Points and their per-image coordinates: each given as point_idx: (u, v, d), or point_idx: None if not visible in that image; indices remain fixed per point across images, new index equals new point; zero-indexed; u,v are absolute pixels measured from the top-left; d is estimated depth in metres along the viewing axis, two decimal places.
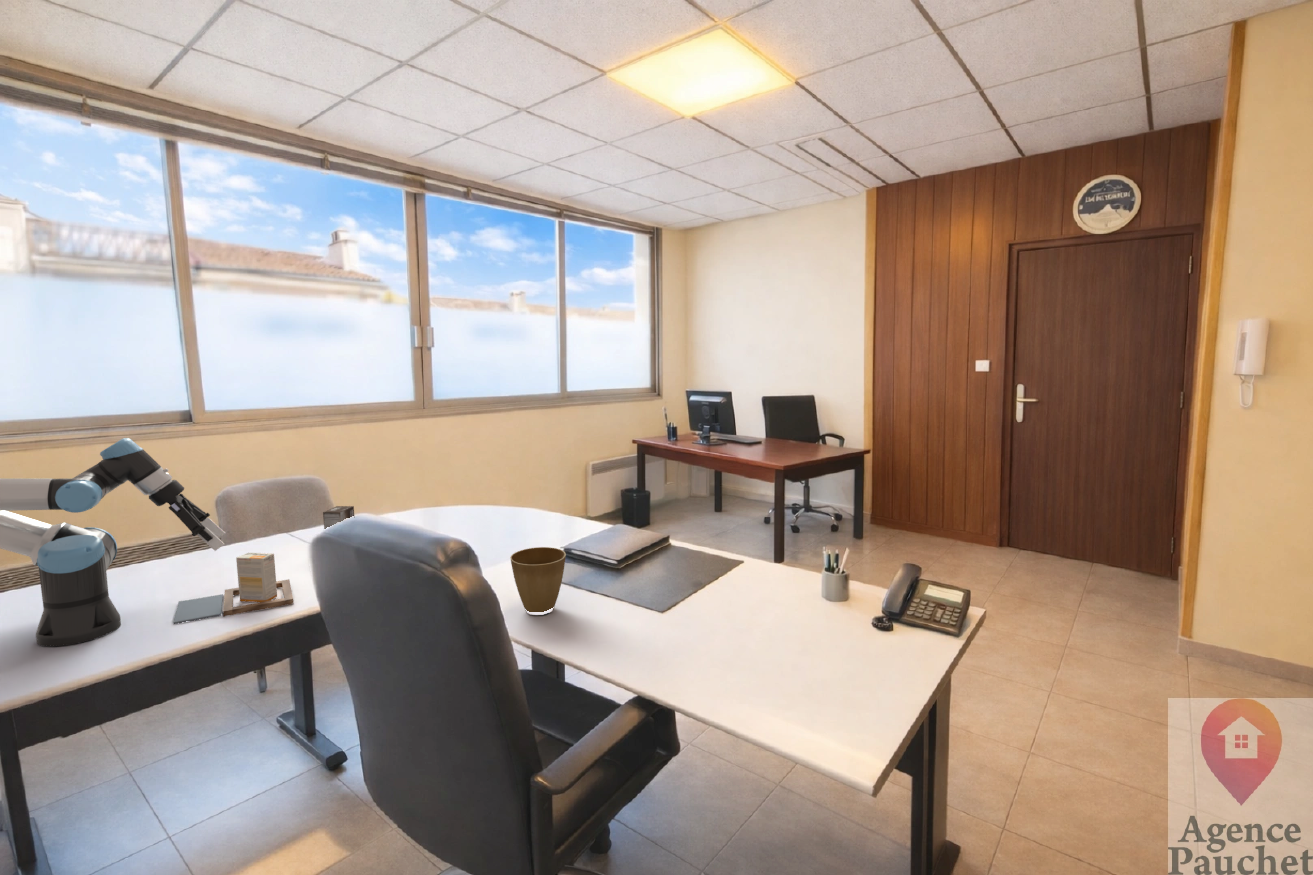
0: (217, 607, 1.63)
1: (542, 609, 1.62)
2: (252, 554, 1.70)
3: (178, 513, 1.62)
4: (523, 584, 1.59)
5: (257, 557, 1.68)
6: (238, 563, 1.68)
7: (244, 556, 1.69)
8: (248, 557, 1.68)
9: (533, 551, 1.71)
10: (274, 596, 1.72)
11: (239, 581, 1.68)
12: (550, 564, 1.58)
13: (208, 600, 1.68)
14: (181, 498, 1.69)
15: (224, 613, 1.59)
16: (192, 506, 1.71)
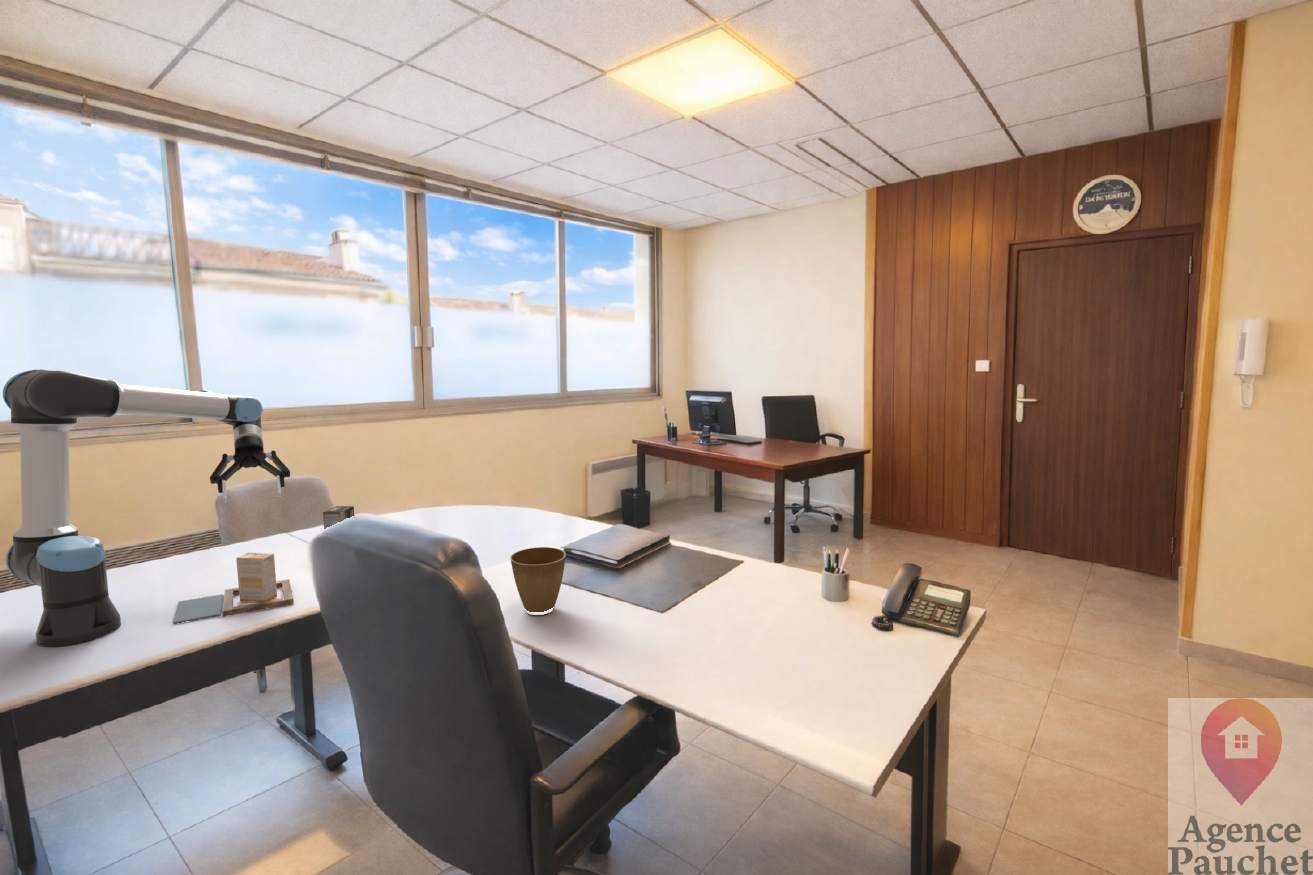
0: (217, 607, 1.63)
1: (542, 609, 1.62)
2: (252, 554, 1.70)
3: None
4: (523, 584, 1.59)
5: (257, 557, 1.68)
6: (238, 563, 1.68)
7: (244, 556, 1.69)
8: (248, 557, 1.68)
9: (533, 551, 1.71)
10: (274, 596, 1.72)
11: (239, 581, 1.68)
12: (550, 564, 1.58)
13: (208, 600, 1.68)
14: None
15: (224, 613, 1.59)
16: (239, 468, 1.84)
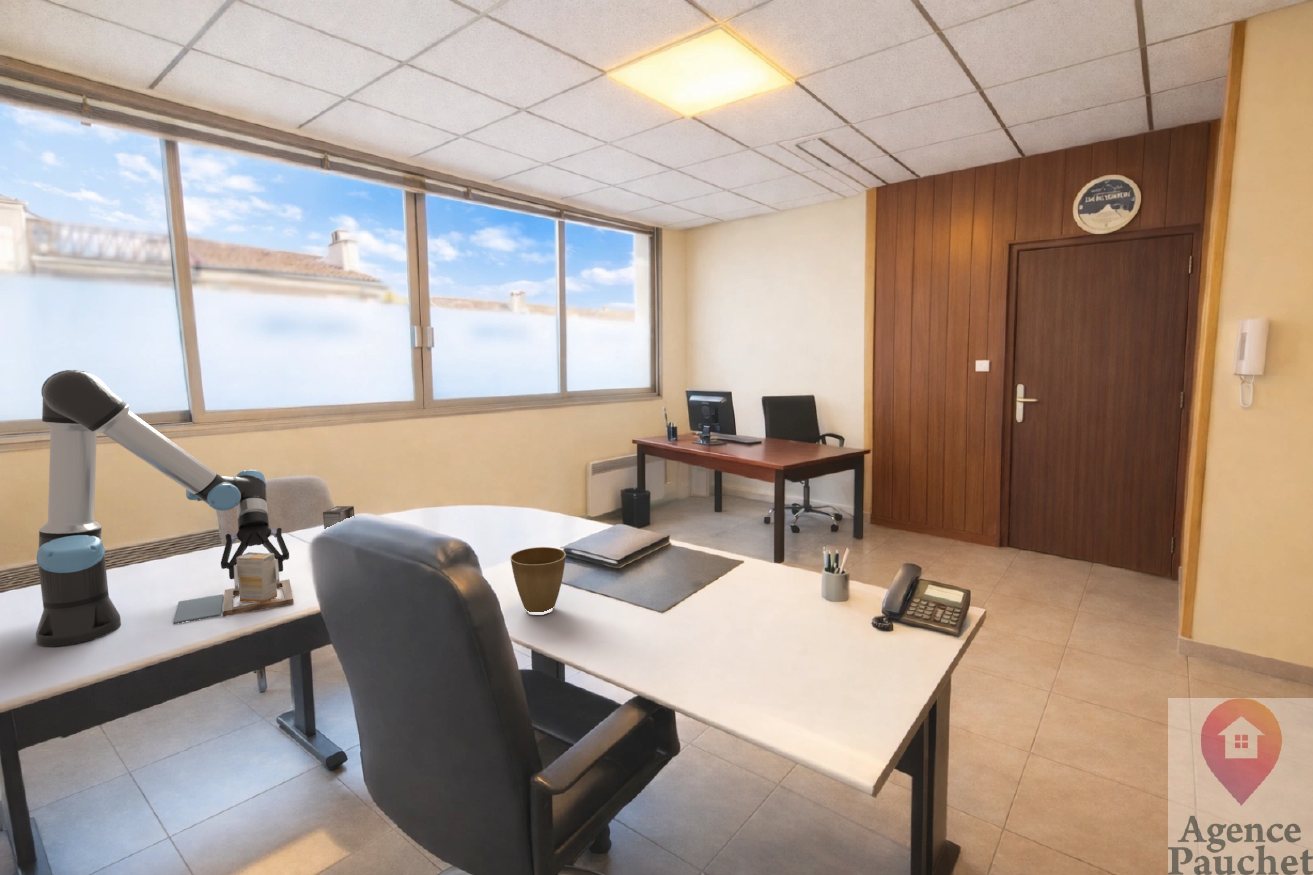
0: (217, 607, 1.63)
1: (542, 609, 1.62)
2: (252, 554, 1.70)
3: (281, 536, 1.78)
4: (523, 584, 1.59)
5: (257, 557, 1.68)
6: (238, 563, 1.68)
7: (244, 556, 1.69)
8: (248, 557, 1.68)
9: (533, 551, 1.71)
10: (274, 596, 1.72)
11: (239, 581, 1.68)
12: (550, 564, 1.58)
13: (208, 600, 1.68)
14: None
15: (224, 613, 1.59)
16: (246, 547, 1.74)
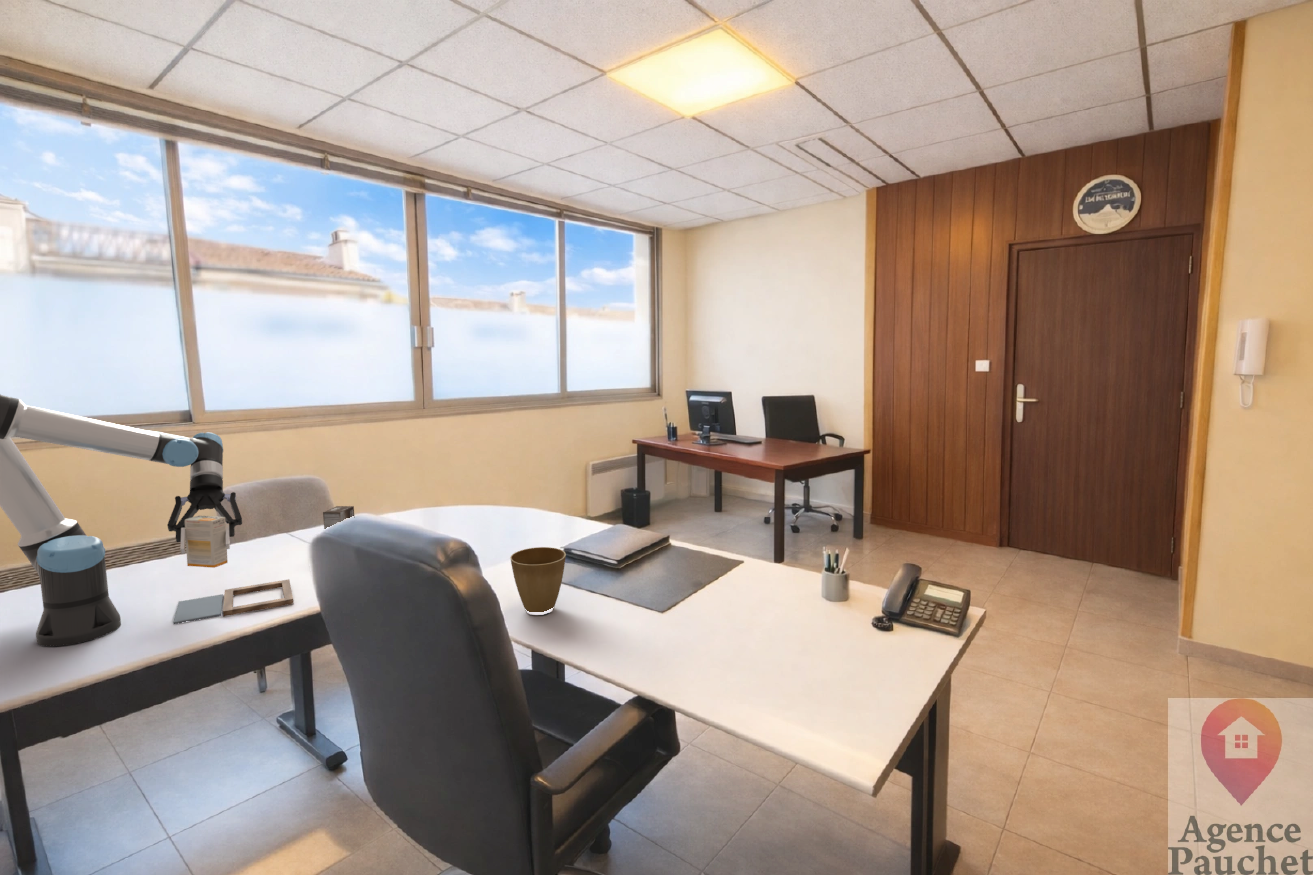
0: (217, 607, 1.63)
1: (542, 609, 1.62)
2: (202, 517, 1.63)
3: (235, 501, 1.71)
4: (523, 584, 1.59)
5: (206, 520, 1.60)
6: (186, 525, 1.60)
7: (193, 518, 1.61)
8: (197, 519, 1.60)
9: (533, 551, 1.71)
10: (224, 562, 1.64)
11: (187, 544, 1.61)
12: (550, 564, 1.58)
13: (208, 600, 1.68)
14: None
15: (224, 613, 1.59)
16: (197, 511, 1.66)
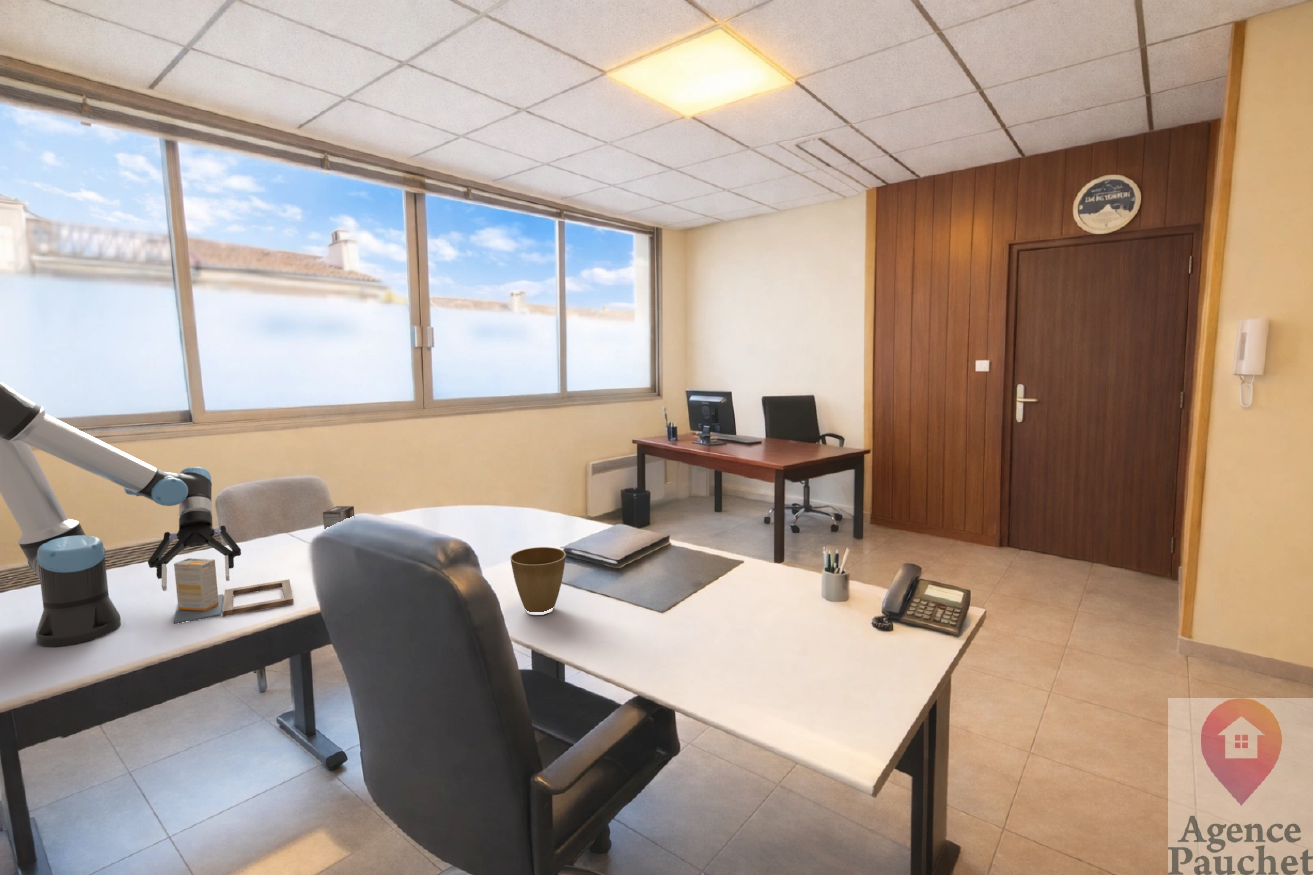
0: (217, 607, 1.63)
1: (542, 609, 1.62)
2: (191, 560, 1.62)
3: (227, 534, 1.71)
4: (523, 584, 1.59)
5: (196, 563, 1.60)
6: (176, 569, 1.60)
7: (182, 562, 1.61)
8: (186, 563, 1.60)
9: (533, 551, 1.71)
10: (215, 604, 1.64)
11: (177, 588, 1.61)
12: (550, 564, 1.58)
13: None
14: None
15: (224, 613, 1.59)
16: (183, 548, 1.66)
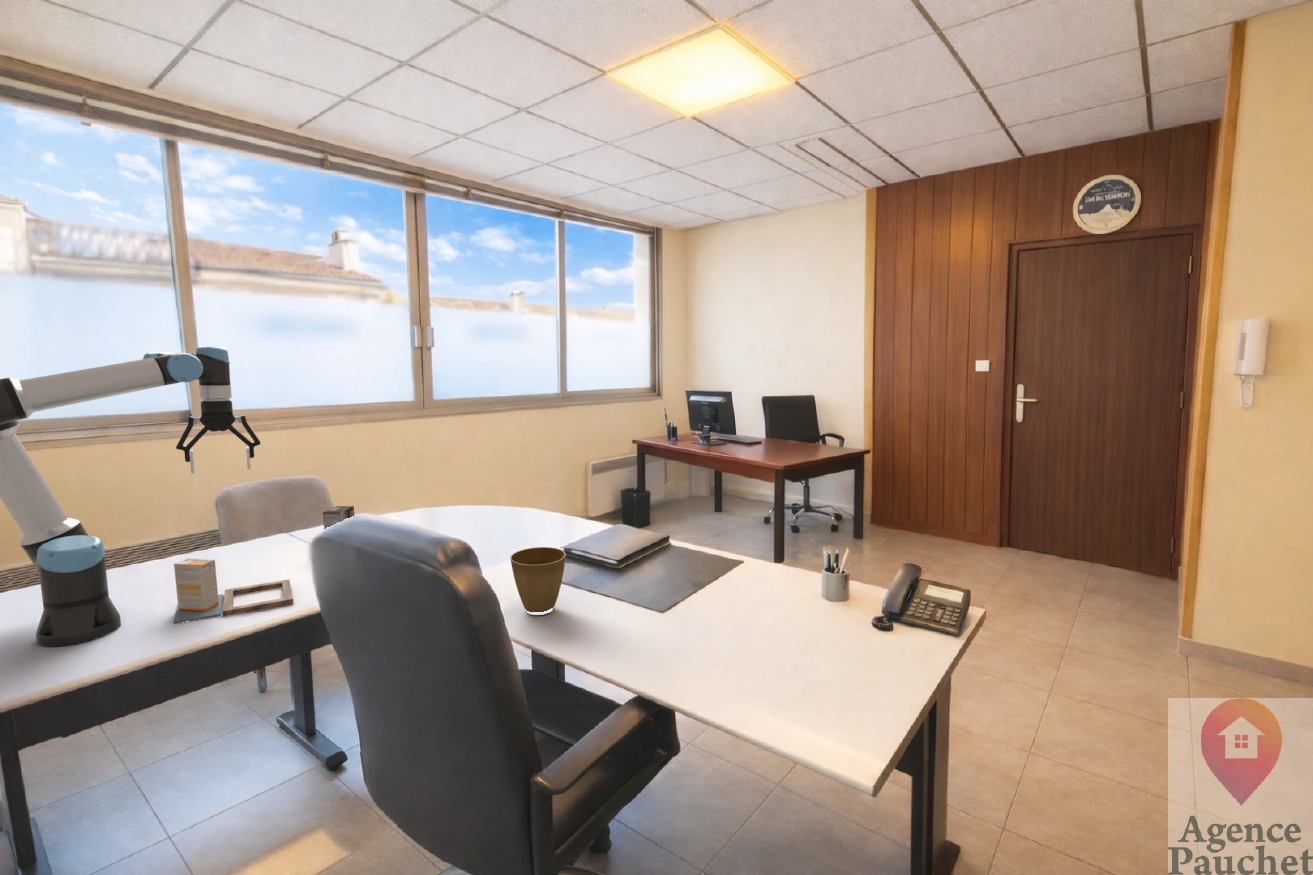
0: (217, 607, 1.63)
1: (542, 609, 1.62)
2: (191, 560, 1.62)
3: (247, 424, 1.81)
4: (523, 584, 1.59)
5: (196, 563, 1.60)
6: (176, 569, 1.60)
7: (182, 562, 1.61)
8: (186, 563, 1.60)
9: (533, 551, 1.71)
10: (215, 604, 1.64)
11: (177, 588, 1.61)
12: (550, 564, 1.58)
13: None
14: None
15: (224, 613, 1.59)
16: None
